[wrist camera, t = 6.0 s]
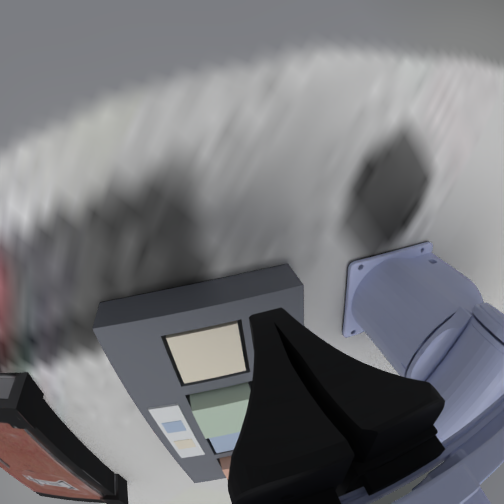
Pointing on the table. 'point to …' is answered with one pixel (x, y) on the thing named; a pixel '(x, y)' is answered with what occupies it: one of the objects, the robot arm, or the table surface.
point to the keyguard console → (162, 361)
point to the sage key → (221, 409)
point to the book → (49, 449)
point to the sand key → (207, 352)
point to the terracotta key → (225, 465)
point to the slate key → (224, 442)
